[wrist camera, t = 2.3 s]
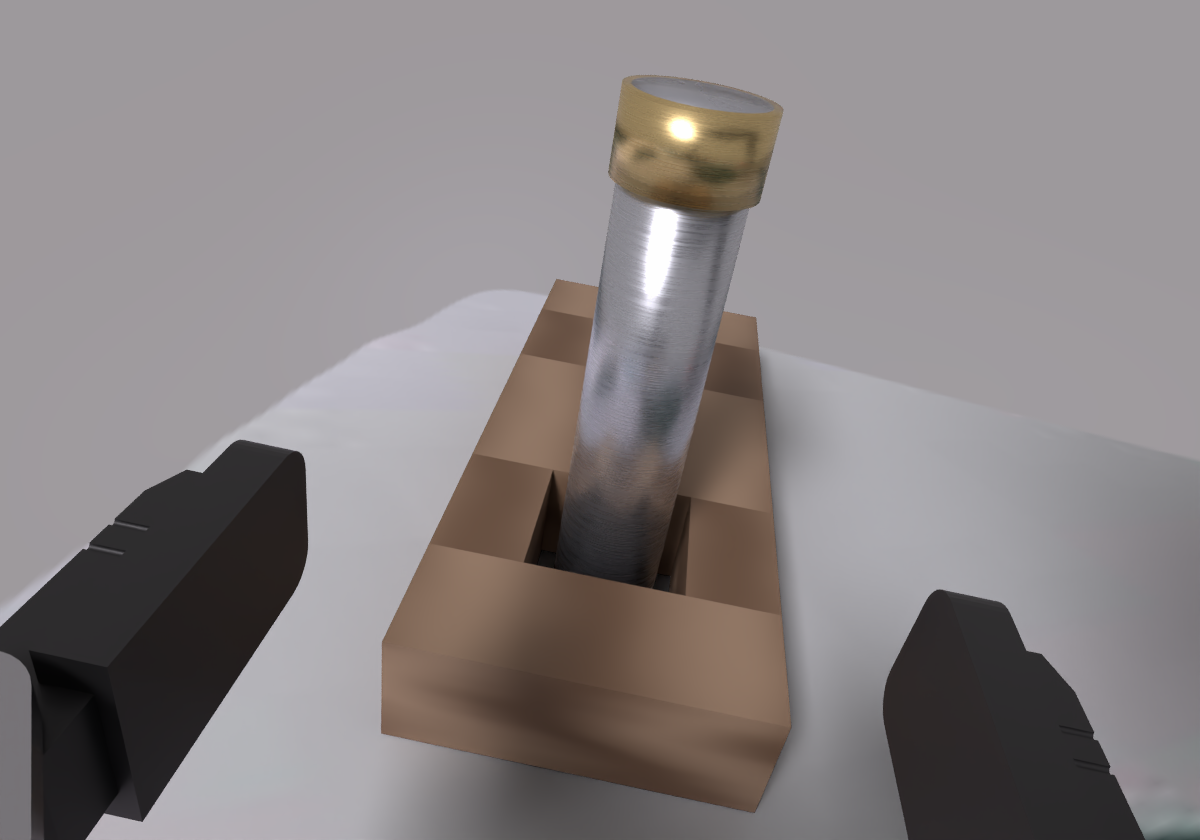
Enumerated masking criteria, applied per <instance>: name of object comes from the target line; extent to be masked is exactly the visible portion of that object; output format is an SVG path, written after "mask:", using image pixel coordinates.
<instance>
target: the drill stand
mask: <svg viewBox="0 0 1200 840" xmlns="http://www.w3.org/2000/svg"><path fill="white" fill-rule="evenodd" d="M598 288H599V287H595V286H589V285H585V284H579V283H574V282H569V281H564V280H559V279H556V281H555V283H554V285H553V288H552V289H551V291H550V294H549V296H548V298H547V300H546V302H545V304H544V306H543V308H542V310H541V312H540V314H539V316H538V318H537V321H536V323H535V325H534V327H533V329H532V331H531V333H530V335H529V337H528V339H527V341H526V343H525V346H524V348H523V350H522V352H521V354H520V356H519V358H518V360H517V362H516V364H515V366H514V368H513V371H512V373H511V375H510V377H509V379H508V381H507V383H506V385H505V387H504V389H503V391H502V393H501V395H500V398H499V400H498V402H497V404H496V406H495V408H494V410H493V412H492V414H491V416H490V418H489V420H488V423H487V425H486V427H485V429H484V431H483V433H482V435H481V437H480V439H479V441H478V443H477V445H476V447H475V450H474V452H473V454H472V456H471V458H470V460H469V462H468V464H467V466H466V468H465V470H464V472H463V475H462V477H461V479H460V481H459V483H458V485H457V487H456V489H455V491H454V493H453V495H452V497H451V500H450V502H449V504H448V506H447V508H446V510H445V512H444V514H443V516H442V518H441V520H440V522H439V524H438V527H437V529H436V531H435V533H434V535H433V537H432V539H431V541H430V543H429V545H428V547H427V549H426V552H425V554H424V556H423V558H422V560H421V562H420V564H419V566H418V568H417V570H416V572H415V574H414V576H413V579H412V581H411V583H410V585H409V587H408V589H407V591H406V593H405V595H404V597H403V599H402V601H401V604H400V606H399V608H398V610H397V612H396V614H395V616H394V618H393V620H392V622H391V624H390V626H389V629H388V631H387V633H386V635H385V637H384V639H383V641H382V709H381V733H382V734H387V735H391V736H396V737H401V738H406V739H410V740H415V741H420V742H424V743H429V744H434V745H438V746H443V747H448V748H453V749H457V750H462V751H467V752H471V753H476V754H481V755H485V756H490V757H495V758H499V759H504V760H509V761H514V762H518V763H523V764H528V765H532V766H537V767H542V768H546V769H551V770H556V771H561V772H565V773H570V774H575V775H579V776H584V777H589V778H593V779H598V780H603V781H607V782H612V783H617V784H622V785H626V786H631V787H636V788H640V789H645V790H650V791H654V792H659V793H664V794H668V795H673V796H678V797H683V798H687V799H692V800H697V801H701V802H706V803H711V804H715V805H720V806H725V807H730V808H734V809H739V810H744V811H748V812H753V813H755V810H756V808H757V806H758V803H759V801H760V799H761V797H762V794H763V792H764V790H765V787H766V785H767V783H768V780H769V778H770V776H771V773H772V771H773V769H774V766H775V764H776V762H777V759H778V757H779V755H780V753H781V750H782V748H783V746H784V743H785V741H786V739H787V736H788V734H789V732H790V729H791V718H790V707H789V695H788V683H787V672H786V660H785V648H784V637H783V625H782V613H781V602H780V590H779V578H778V567H777V555H776V543H775V532H774V520H773V508H772V497H771V485H770V473H769V462H768V450H767V438H766V427H765V415H764V403H763V392H762V380H761V368H760V357H759V345H758V333H757V322H756V318H755V317H750V316H745V315H740V314H735V313H729V312H724V311H723V314H722V318H721V322H720V326H719V330H718V334H717V338H716V342H715V346H714V350H713V354H712V358H711V362H710V366H709V370H708V373H707V377H706V381H705V385H704V389H703V393H702V397H701V401H700V405H699V409H698V413H697V417H696V421H695V425H694V429H693V433H692V437H691V441H690V445H689V449H688V453H687V457H686V461H685V465H684V469H683V472H682V476H681V480H680V484H679V488H678V492H677V496H676V500H675V504H674V508H673V512H672V516H671V520H670V524H669V528H668V532H667V536H666V540H665V544H664V548H663V552H662V556H661V560H660V564H659V568H658V572H657V573H658V574H663V575H668V576H670V585H669V592H664V591H660V590H655V589H650V588H645V587H640V586H635V585H630V584H625V583H621V582H616V581H611V580H606V579H601V578H596V577H591V576H586V575H581V574H577V573H572V572H567V571H562V570H557V569H552V568H547V567H542V566H538V565H537V563H538V559H539V556H540V552H541V550H545V551H550V552H555V553H556V551H557V545H558V539H559V532H560V526H561V520H562V514H563V507H564V501H565V495H566V489H567V482H568V476H569V470H570V464H571V457H572V451H573V445H574V438H575V432H576V426H577V420H578V413H579V407H580V401H581V395H582V388H583V382H584V376H585V370H586V363H587V357H588V351H589V345H590V338H591V332H592V326H593V319H594V313H595V307H596V301H597V294H598Z"/></svg>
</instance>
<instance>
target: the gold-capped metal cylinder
mask: <svg viewBox="0 0 1200 840" xmlns="http://www.w3.org/2000/svg"><path fill="white" fill-rule="evenodd" d="M782 114H783V108H782V107H781V106H780V105H779V104H777V103H776V102H774V101H772V100H769V99H767V98H764V97H762V96H759V95H756V94H753V93H750V92H746V91H743V90H740V89H736V88H732V87H728V86H724V85H719V84H714V83H709V82H704V81H699V80H693V79H686V78H678V77H669V76H657V75H636V76H630V77H626V78H624V79H623V81H622V87H621V93H620V100H619V106H618V112H617V119H616V126H615V132H614V139H613V145H612V152H611V158H610V164H609V171H608V173H609V176H610V178H611V179H612V180H613V181H614V182H615V188H614V195H613V201H612V207H611V213H610V219H609V226H608V232H607V238H606V244H605V251H604V258H603V263H602V269H601V276H600V282H599V288H598V294H597V301H596V307H595V313H594V319H593V326H592V332H591V338H590V345H589V351H588V357H587V363H586V370H585V376H584V382H583V388H582V395H581V401H580V407H579V413H578V420H577V426H576V432H575V438H574V445H573V451H572V457H571V464H570V470H569V476H568V482H567V489H566V495H565V501H564V507H563V514H562V520H561V526H560V532H559V539H558V545H557V551H556V557H555V564H554V569H557V570H562V571H567V572H572V573H577V574H581V575H586V576H591V577H596V578H601V579H606V580H611V581H616V582H621V583H625V584H630V585H635V586H640V587H645V588H650V589H653V587H654V583H655V579H656V575H657V572H658V568H659V564H660V560H661V556H662V552H663V548H664V544H665V540H666V536H667V532H668V528H669V524H670V520H671V516H672V512H673V508H674V504H675V500H676V496H677V492H678V488H679V484H680V480H681V476H682V472H683V469H684V465H685V461H686V457H687V453H688V449H689V445H690V441H691V437H692V433H693V429H694V425H695V421H696V417H697V413H698V409H699V405H700V401H701V397H702V393H703V389H704V385H705V381H706V377H707V373H708V370H709V366H710V362H711V358H712V354H713V350H714V346H715V342H716V338H717V334H718V330H719V326H720V322H721V318H722V314H723V310H724V306H725V302H726V298H727V294H728V290H729V286H730V282H731V278H732V274H733V270H734V266H735V262H736V259H737V255H738V251H739V247H740V243H741V239H742V235H743V230H744V227H745V223H746V219H747V215H748V211H749V208H751V207H754V206H756V205H757V204H758V203H759V202H760V199H761V195H762V191H763V188H764V184H765V180H766V176H767V172H768V168H769V164H770V160H771V157H772V153H773V149H774V145H775V141H776V137H777V133H778V130H779V126H780V121H781V118H782Z"/></svg>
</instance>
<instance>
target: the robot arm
mask: <svg viewBox="0 0 1200 840" xmlns="http://www.w3.org/2000/svg"><path fill="white" fill-rule="evenodd" d="M307 552H308V527H307V498H306V469H305V461H304V458H303V456H302V454H301V453H300V452H298V451H293V450H288V449H284V448H279V447H274V446H269V445H265V444H260V443H255V442H250V441H246V440H238V441H235V442H234V443H232V444H231V445H230V446H229V447H228V448H227V449H226V450H225V451H224V452H223V453H222V454H221V455H220V456H219V457H218V458H217V459H216V460H215V461H214V462H213V463H212V464H211V465H210V466H209V467H208V468H207V469H206V470H205V471H204V472H203V473H200V472H195V471H190V470H185V471H183V472H181V473H179V474H177V475H175V476H173V477H171V478H169V479H167V480H165V481H163V482H161V483H159V484H157V485H155V486H153V487H151V488H149V489H147V490H145V491H144V492H143V493H142V494H141V495H140V496H139V497H138V498H137V499H135V500H134V502H132V503H131V504H130V505H129V506H128V507H127V508H126V509H125V510H124V511H123V512H122V513H121V514H120V515H118V516H117V517H116V518H115V522H114V524H113V525H108V526H107V527H106V528H105V529H104V530H102V531H101V532H100V533H99V534H98V535H97V536H96V537H95V538H94V539H93V540H92V541H91V542H90V545H89V548H88V549H87V550H86V549H82V550H81V551H80V552H79V553H78V554H77V555H76V556H75V557H74V558H73V559H72V560H71V561H70V562H69V563H68V564H66V565H65V566H64V567H63V568H62V569H61V570H60V571H59V572H58V573H57V574H56V575H55V576H54V577H53V578H52V579H51V580H49V581H48V582H47V583H46V584H45V585H44V586H43V587H42V588H41V589H40V590H39V591H38V592H37V593H36V594H35V595H34V596H33V597H31V598H30V599H29V600H28V601H27V602H26V603H25V604H24V605H23V606H22V607H21V608H20V609H19V610H18V611H17V612H16V613H15V614H13V615H12V616H11V617H10V618H9V619H8V620H7V621H6V622H5V623H4V624H3V625H2V626H1V627H0V840H85V839H86V838H87V836H88V835H89V834H90V832H91V831H92V829H93V828H94V827H95V825H96V824H97V822H98V821H99V820H100V818H101V817H102V815H103V814H104V813H105V814H110V815H114V816H119V817H123V818H128V819H132V820H136V821H141V822H143V820H144V819H145V817H146V816H147V814H148V813H149V811H150V810H151V808H152V807H153V805H154V804H155V802H156V800H157V799H158V797H159V796H160V794H161V793H162V791H163V790H164V788H165V787H166V785H167V784H168V782H169V781H170V779H171V778H172V776H173V775H174V773H175V772H176V770H177V769H178V767H179V766H180V764H181V763H182V761H183V760H184V758H185V757H186V755H187V754H188V752H189V751H190V749H191V748H192V746H193V745H194V743H195V742H196V740H197V738H198V737H199V735H200V734H201V732H202V731H203V729H204V728H205V726H206V725H207V723H208V722H209V720H210V719H211V717H212V716H213V714H214V713H215V711H216V710H217V708H218V707H219V705H220V704H221V702H222V701H223V699H224V698H225V696H226V695H227V693H228V692H229V690H230V689H231V687H232V686H233V684H234V683H235V681H236V680H237V678H238V676H239V675H240V673H241V672H242V670H243V669H244V667H245V666H246V664H247V663H248V661H249V660H250V658H251V657H252V655H253V654H254V652H255V651H256V649H257V648H258V646H259V645H260V643H261V642H262V640H263V639H264V637H265V636H266V634H267V633H268V631H269V630H270V628H271V627H272V625H273V624H274V622H275V621H276V619H277V618H278V616H279V614H280V613H281V611H282V610H283V608H284V607H285V605H286V604H287V602H288V601H289V599H290V598H291V596H292V595H293V593H294V591H295V590H296V588H297V586H298V584H299V581H300V579H301V576H302V573H303V570H304V567H305V563H306V558H307ZM883 718H884V725H885V730H886V735H887V739H888V744H889V749H890V754H891V758H892V763H893V768H894V773H895V777H896V782H897V787H898V791H899V796H900V801H901V806H902V810H903V815H904V820H905V825H906V829H907V834H908V839H909V840H1145V838H1144V836H1143V834H1142V832H1141V830H1140V828H1139V826H1138V824H1137V822H1136V819H1135V817H1134V815H1133V813H1132V811H1131V809H1130V807H1129V805H1128V803H1127V801H1126V798H1125V796H1124V794H1123V792H1122V790H1121V788H1120V786H1119V784H1118V782H1117V779H1116V777H1115V775H1110V773H1109V768H1110V765H1109V763H1108V761H1107V758H1106V756H1105V754H1104V752H1103V750H1102V748H1101V746H1100V744H1099V742H1098V741H1097V740H1094V739H1093V734H1094V731H1093V729H1092V727H1091V725H1090V723H1089V721H1088V719H1087V716H1086V714H1085V712H1084V710H1083V708H1082V706H1081V704H1080V702H1079V700H1078V698H1077V695H1076V693H1075V692H1074V690H1073V689H1072V688H1071V687H1070V686H1069V685H1068V684H1067V683H1066V681H1065V680H1064V679H1063V678H1062V677H1061V676H1060V675H1059V674H1058V672H1057V671H1056V670H1055V669H1054V668H1053V667H1052V666H1051V664H1050V663H1049V662H1048V661H1047V660H1046V659H1045V658H1044V657H1043V655H1042V654H1039V653H1034V652H1029V651H1026V649H1025V647H1024V644H1023V642H1022V640H1021V637H1020V635H1019V633H1018V631H1017V628H1016V626H1015V624H1014V621H1013V619H1012V617H1011V614H1010V612H1009V611H1008V609H1007V608H1006V606H1005V605H1004V604H1002V603H1000V602H997V601H992V600H987V599H983V598H978V597H973V596H969V595H964V594H959V593H954V592H950V591H945V590H936V591H934V592H933V593H932V594H931V595H930V596H929V597H928V599H927V600H926V602H925V604H924V606H923V608H922V610H921V612H920V614H919V616H918V618H917V620H916V622H915V624H914V626H913V628H912V629H911V631H910V633H909V635H908V637H907V639H906V641H905V643H904V645H903V647H902V649H901V651H900V653H899V655H898V657H897V659H896V661H895V663H894V665H893V667H892V669H891V671H890V673H889V676H888V679H887V682H886V686H885V691H884V699H883Z"/></svg>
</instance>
